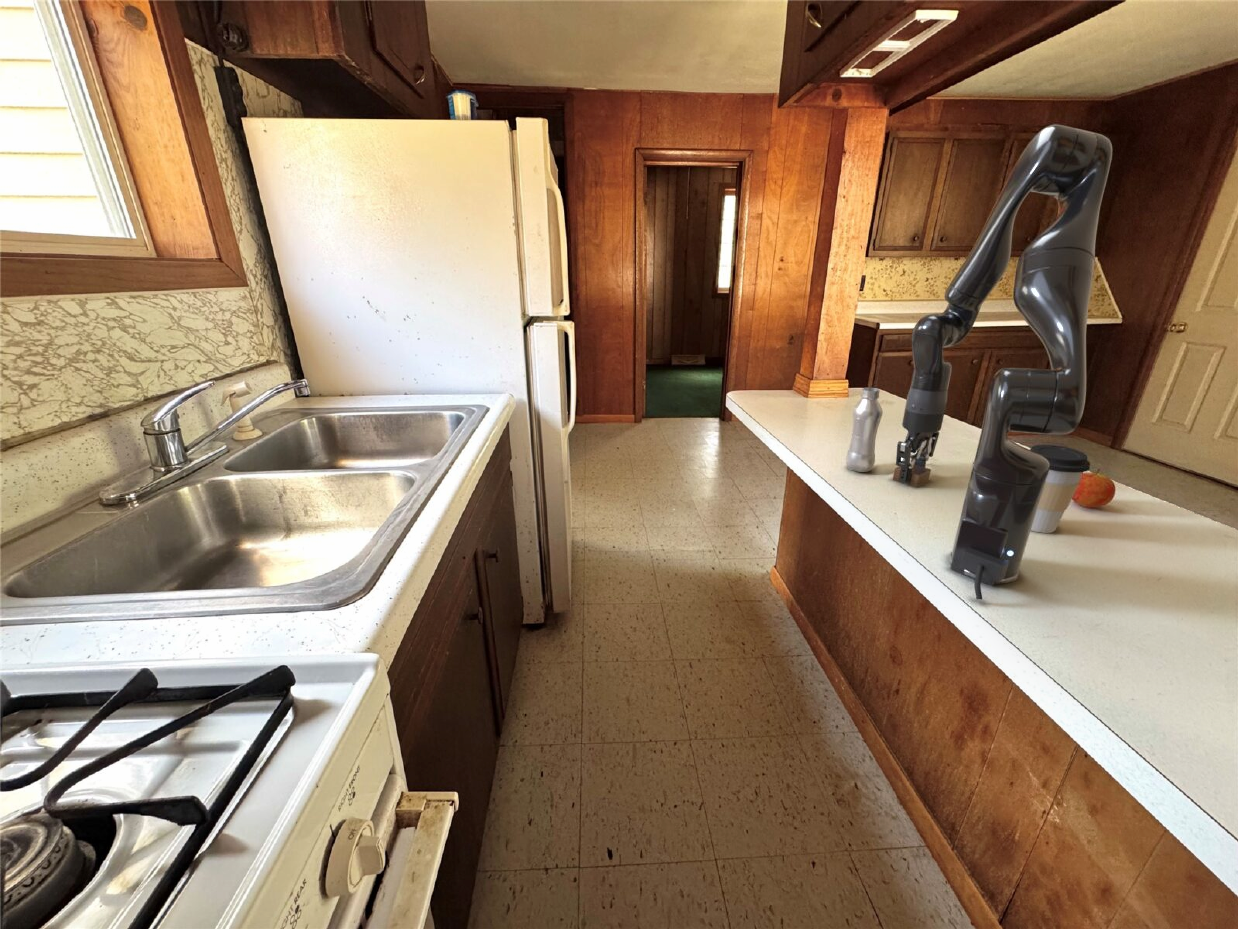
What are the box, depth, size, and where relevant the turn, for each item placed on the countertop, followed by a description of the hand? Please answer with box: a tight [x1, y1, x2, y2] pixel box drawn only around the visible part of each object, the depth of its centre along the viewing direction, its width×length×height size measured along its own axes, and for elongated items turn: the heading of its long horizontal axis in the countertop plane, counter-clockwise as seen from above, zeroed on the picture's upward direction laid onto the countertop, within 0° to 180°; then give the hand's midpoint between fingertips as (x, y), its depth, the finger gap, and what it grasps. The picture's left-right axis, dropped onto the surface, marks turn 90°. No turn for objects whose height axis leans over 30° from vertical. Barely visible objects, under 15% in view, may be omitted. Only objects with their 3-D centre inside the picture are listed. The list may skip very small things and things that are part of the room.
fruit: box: [1071, 468, 1116, 509], centre depth 102 cm, size 7×7×8 cm
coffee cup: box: [1029, 444, 1091, 534], centre depth 94 cm, size 9×9×15 cm
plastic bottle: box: [845, 387, 883, 473], centre depth 121 cm, size 6×7×20 cm
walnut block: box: [892, 465, 932, 488], centre depth 117 cm, size 6×6×3 cm
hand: (911, 478), depth 117 cm, fingers closed on walnut block, 5 cm apart
